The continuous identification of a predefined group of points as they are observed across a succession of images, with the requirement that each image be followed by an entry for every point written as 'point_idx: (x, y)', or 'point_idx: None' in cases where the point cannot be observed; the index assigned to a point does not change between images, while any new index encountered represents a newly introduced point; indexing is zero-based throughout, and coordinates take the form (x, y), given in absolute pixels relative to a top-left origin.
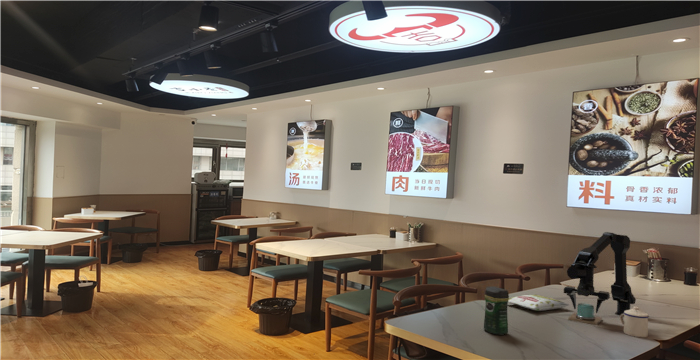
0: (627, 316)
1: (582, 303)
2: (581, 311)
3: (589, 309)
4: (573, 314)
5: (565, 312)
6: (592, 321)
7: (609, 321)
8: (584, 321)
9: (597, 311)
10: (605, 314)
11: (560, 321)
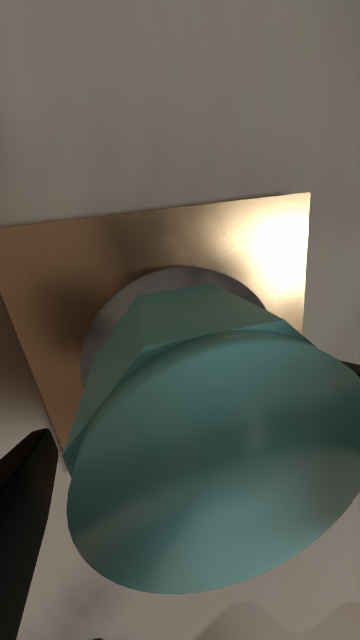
0: None
1: (313, 524)
2: (230, 300)
3: (113, 376)
4: None
5: None
6: (56, 259)
7: None
8: (137, 214)
9: (7, 454)
10: (139, 592)
11: (350, 11)
